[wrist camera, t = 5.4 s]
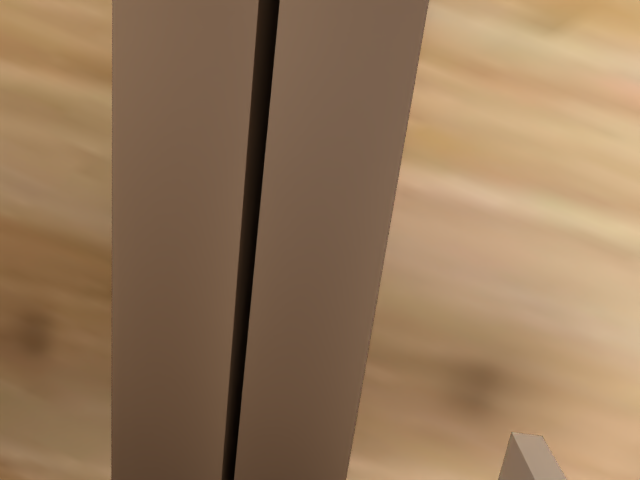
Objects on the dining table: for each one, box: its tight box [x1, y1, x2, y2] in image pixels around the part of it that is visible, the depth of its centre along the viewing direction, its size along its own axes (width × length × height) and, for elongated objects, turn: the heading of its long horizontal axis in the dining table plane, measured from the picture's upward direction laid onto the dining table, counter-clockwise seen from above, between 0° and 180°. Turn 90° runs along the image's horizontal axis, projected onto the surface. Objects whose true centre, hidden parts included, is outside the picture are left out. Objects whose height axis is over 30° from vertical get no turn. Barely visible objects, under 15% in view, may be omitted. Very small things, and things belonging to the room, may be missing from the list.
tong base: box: [234, 0, 429, 480], centre depth 12 cm, size 4×21×7 cm, turn 173°
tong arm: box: [112, 0, 280, 480], centre depth 13 cm, size 2×16×7 cm, turn 173°
